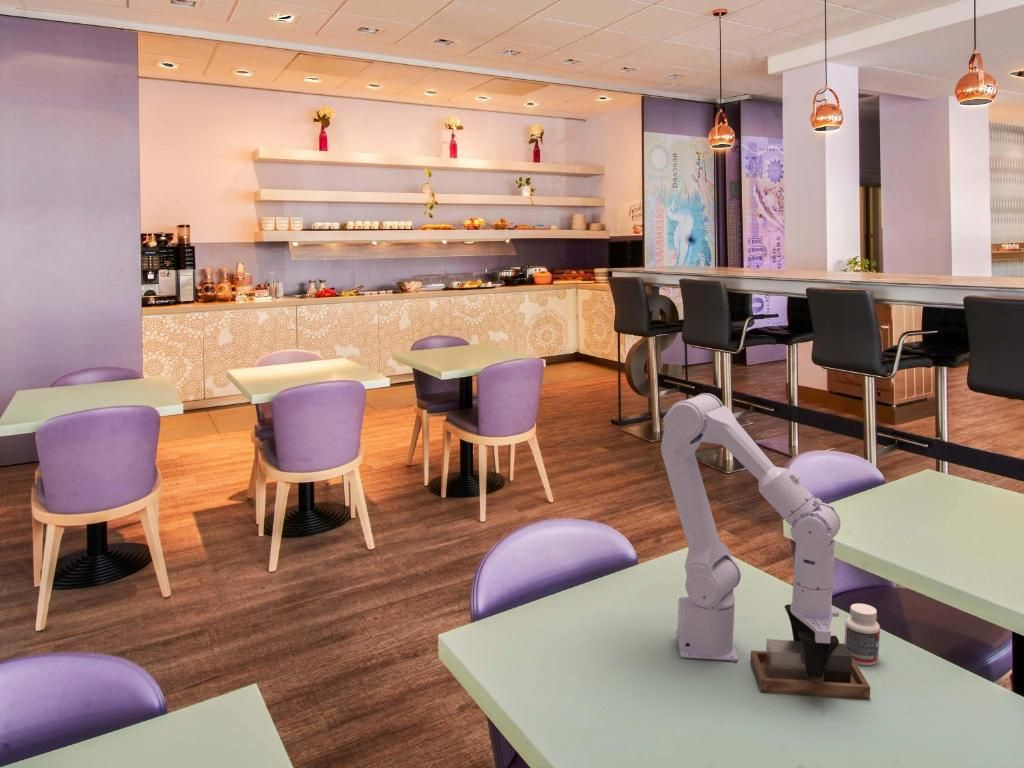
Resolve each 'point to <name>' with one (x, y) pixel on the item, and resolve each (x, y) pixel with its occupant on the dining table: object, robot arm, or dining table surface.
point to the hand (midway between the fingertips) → (808, 662)
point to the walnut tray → (809, 682)
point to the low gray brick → (790, 662)
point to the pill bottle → (862, 634)
